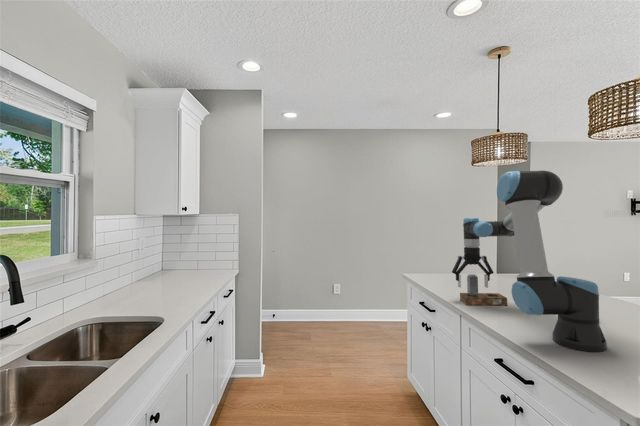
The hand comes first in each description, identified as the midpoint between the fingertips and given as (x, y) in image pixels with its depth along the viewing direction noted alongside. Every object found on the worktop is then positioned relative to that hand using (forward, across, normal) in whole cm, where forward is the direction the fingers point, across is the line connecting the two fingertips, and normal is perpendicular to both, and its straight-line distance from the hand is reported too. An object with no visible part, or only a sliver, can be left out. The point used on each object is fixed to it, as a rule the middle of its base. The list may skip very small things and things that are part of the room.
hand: (472, 287), depth 170 cm
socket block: (+8, -5, 0) cm, 10 cm away
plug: (+8, 0, 0) cm, 8 cm away
